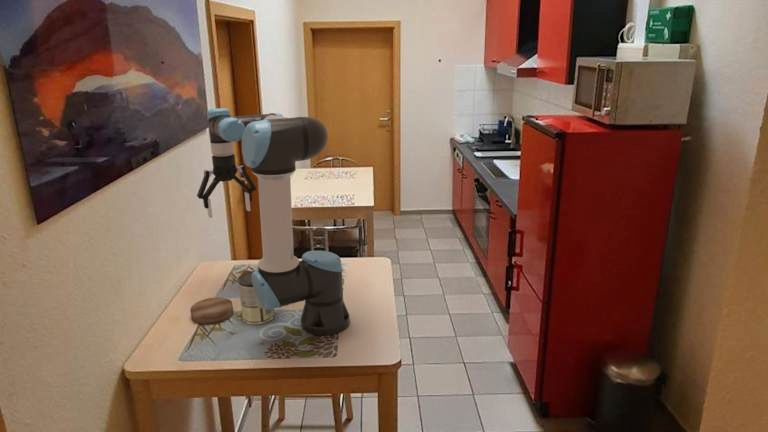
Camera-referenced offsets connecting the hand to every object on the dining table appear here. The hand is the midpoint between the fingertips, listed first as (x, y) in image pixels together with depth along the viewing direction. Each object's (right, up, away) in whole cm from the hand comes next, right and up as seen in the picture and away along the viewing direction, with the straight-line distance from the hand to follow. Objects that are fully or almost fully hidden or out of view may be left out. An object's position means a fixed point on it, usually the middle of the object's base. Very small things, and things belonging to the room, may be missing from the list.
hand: (229, 213), depth 188 cm
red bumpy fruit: (+6, -28, +3) cm, 28 cm away
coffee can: (+14, -34, -17) cm, 40 cm away
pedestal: (-1, -33, -15) cm, 36 cm away
